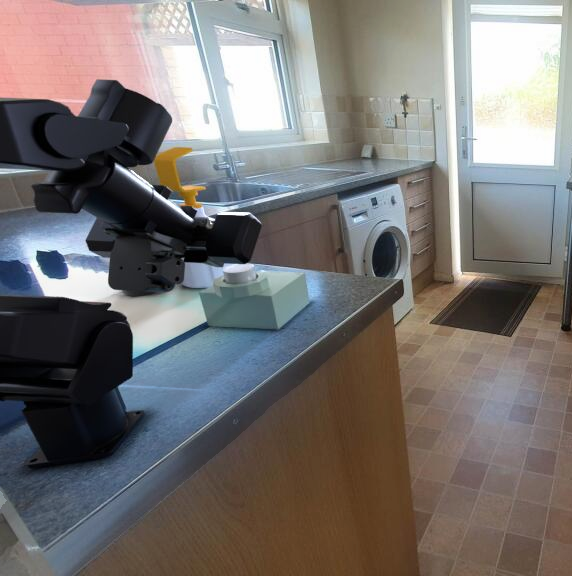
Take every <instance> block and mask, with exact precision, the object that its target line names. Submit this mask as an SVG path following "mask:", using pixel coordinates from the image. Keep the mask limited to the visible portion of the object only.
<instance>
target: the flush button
mask: <svg viewBox="0 0 572 576" xmlns="http://www.w3.org/2000/svg"><path fill="white" fill-rule="evenodd" d="M255 270H256V269H255V265H254V264H251V263H246V264H236V265H232V266H228V267H226V268H224V269H223V274H224V278H225V282H226V283H227V284H240V283H246V282H249V281H253V280H255V279H257V277H256V273H255Z"/></svg>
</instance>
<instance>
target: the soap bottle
mask: <svg viewBox="0 0 572 576" xmlns="http://www.w3.org/2000/svg"><path fill="white" fill-rule="evenodd" d="M192 152H194V149H193V148H192V147H185V146H176V147H171V148H170V149H167V150H165V151H162V152H160V153H157V155H156V157H155V159H154V161H153V163H154V167H155V170H156V174H157V177H158V181H159V185H165V186H166V187H167V188H169V189H170V190H171V192H177V194H178V197H182V198H183V201H184V203H180V204H179V206H192V207H193V208H194V209H196V210H197V213H196V216H195V217H208V218H210V219H211V221H215V218H213V217H211V216H208V215H206V213H205V208H204V206H203V203H202V202H197V200H196V196H198V195H199V193H198V191H204V190H207V188H206V186H202V185H201V186H200V185H181V181H180V177H179V174H178V170H177V165H176V164H177V160H178V159H180V158H181V157H183V156H186V155H188V154H190V153H192ZM181 259H183V260H184V258H181ZM232 265H237V264H226V263H224V266H223V267H214V266H210V265H207V264H203V263H187V262H185V273H184V281H183V282H182V283H181V285H183V286H184V287H187V288H190V289H191V288H192V289H207V288H208V287H210V286H212V285H213V282H214V280H215V279H216V278H218V277H220V276H222V275H224V274H223V269H224V268H226V267H228V266H232Z"/></svg>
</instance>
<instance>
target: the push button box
mask: <svg viewBox="0 0 572 576" xmlns="http://www.w3.org/2000/svg"><path fill="white" fill-rule="evenodd" d="M255 273H256V277H257V279H255V280H253V281H249V282H246V283H240V284H227V283H226V282H225V278H224V275H222V276H220V277H218V278H216V279H215V280H214V282H213V285H212V286H210V287H208V288H204V289H202V290H201V291H199V292H198V294H199V298H200V302H201V305H202V308H203V312H204V315H205V319H206V323H207V326H208V327H219V328H241V329H260V330H261V329H263V330H280V329H281V328H282V327H283V326H284V325H286V324H287V323H288V322H289V321H290V320H291V319H293V318H294V317H295V316H296V315H297V314H298V313H300V312H301V311H302V310H303V309H304V308H305V307H307V306H308V305H309V304H310V303H311V301H310V295H309V289H308V282H307V277H306V272H299V271H298V272H296V271H278V270H256V269H255Z"/></svg>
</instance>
